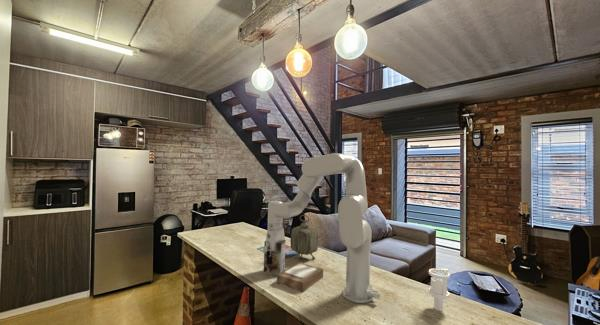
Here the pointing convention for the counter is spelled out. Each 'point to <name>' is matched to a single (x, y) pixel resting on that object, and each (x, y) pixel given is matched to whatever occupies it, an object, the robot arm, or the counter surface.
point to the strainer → (439, 287)
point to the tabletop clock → (304, 239)
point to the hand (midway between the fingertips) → (274, 261)
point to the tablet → (288, 251)
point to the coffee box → (276, 260)
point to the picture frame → (300, 276)
